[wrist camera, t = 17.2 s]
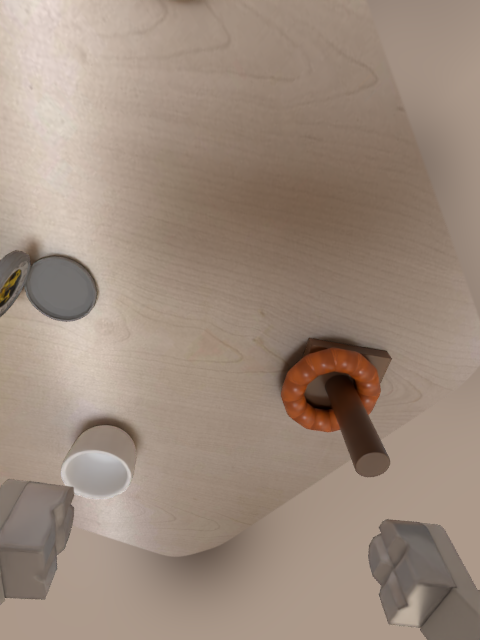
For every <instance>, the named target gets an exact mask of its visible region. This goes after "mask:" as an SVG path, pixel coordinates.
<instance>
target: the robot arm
mask: <svg viewBox="0 0 480 640" xmlns="http://www.w3.org/2000/svg"><path fill="white" fill-rule="evenodd" d="M73 497H74V487H71V486H63V485H55V484H47V483H39V482H31V481H24V480H15V479H8V480H6V481H5V482H4V483H3V484H2V485H1V487H0V605H1V604H2V603H3V602H4V601H5V598H21V599H45V598H46V595H47V593H48V590H49V587H50V585H51V583H52V580H53V577H54V575H55V572H56V570H57V555H58V554H59V553H61V552H62V551H63V550H64V549H65V546H66V543H67V541H68V538H69V535H70V531H71V528H72V524H73V518H74V507H73V506H72V505H71V502H72V500H73ZM379 529H380V531H381V534H379V535H377V536H375V537H373V539H372V541H371V543H370V545H369V555H368V557H369V564H370V568H371V572H372V575H373V577H374V578H375V579H376V580H377V581H378V583H379V584H380V585H381V589H380V593H379V597H380V600H381V603H382V606H383V609H384V611H385V615H386V618H387V621H388V624H390V625H399V626H409V627H418V628H421V629H420V630H421V632H422V633H423V635H424V636H425V637H426V638H427V640H480V590H477V588H476V586H475V584H474V583H473V581H472V579H471V577H470V575H469V573H468V572H467V570H466V568H465V566H464V564H463V563H462V561H461V559H460V557H459V555H458V553H457V552H456V549H455V548H454V546H453V544H452V543H451V540H450V538H449V537H448V535H447V533H446V531H445V530H444V528H442V527H441V526H440V525H437V524H427V523H420V522H412V521H400V520H388V519H387V520H384V521H383V522H382V524H381V525H380V527H379Z"/></svg>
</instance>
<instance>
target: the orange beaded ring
mask: <svg viewBox="0 0 480 640" xmlns="http://www.w3.org/2000/svg"><path fill="white" fill-rule="evenodd" d="M334 371H335V372H341V373H347V374H349V375H350V376H351V377H352V378H353V379H355V382H356V387H357V388H356V391H357V393H358V395H359V397H360V399H361V401H362V403H363V405H364V407H365V409H366V411H367V413H368V414H370V413H371V411H372V410H373V408H374V406H375V404H376V401H377V399H378V397H379V395H380V392H381V388H380V382H379V377H378V372H377V369H376V368H375V366H374V365H372V364H371V363H370V362H369V361H368V360H367V359H366V358H364V357H363V356H362V355H361V354H360V353H358V352H356V351H350V350H345V349H339V348H328V349H324V350H321V351H317V352H314V353H310V354H307V355H306V356H304V357H303V358H302V359H301V360H300V361H299V362H298V363H296V364H295V365H294V366H293V367H292V368H291V369H290V370H289V371H288V372H287V375H286V378H285V381H284V384H283V387H282V390H281V397H282V400H283V403H284V406H285V409H286V412H287V414H288V415H289V417H291V418H292V419H293V420H295V421H296V422H297V423H299V424H300V425H302V426H303V427H304V428H306V429H310V430H317V431H324V432H333V431H337V430H340V427H339V424H338V422H337V419H336V416H335V414H334V411H333V408H332V409H329V410H325V409H318V408H314V407H312V406H311V405H310V404H308V403H307V402H306V399H305V396H304V393H305V391H306V388H307V385H308V384H309V383H310V382H312V381H313V380H314V379H315V378H316V377H318V376H319V375H323V374H326V373H330V372H334Z"/></svg>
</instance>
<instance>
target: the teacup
mask: <svg viewBox="0 0 480 640" xmlns="http://www.w3.org/2000/svg"><path fill="white" fill-rule="evenodd" d="M135 464H136V449H135V445H134V442H133V440H132V439H131V437H130V436H129V435H128V434H127V433H126V432H125V431H123V430H122V429H120V428H118V427H115V426H110V425H100V426H96V427H93V428H90V429H88V430H86V431H85V432H83V433H82V434H81V435H80V436H79V438H78V439H77V440H76V441H75V443H74V444H73V446H72V447H71V449H70V450H69V452H68V454H67V455H66V457H65V459H64V461H63V463H62V467H61V477H62V480H63V482H64V484H65V485H66V486H71V487H74V494H75V495H80V496H82V497H86V498H90V499H108V498H112V497H115V496H117V495H119V494H121V493H123V492H124V491H125V490H126V489H127V488H128V486H129V485H130V483H131V481H132V478H133V475H134V469H135Z"/></svg>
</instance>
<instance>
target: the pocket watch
mask: <svg viewBox="0 0 480 640" xmlns="http://www.w3.org/2000/svg"><path fill="white" fill-rule="evenodd" d="M23 287H25V291H26V295H27V297H28V299H29V301H30V302H31V303H32V305H33V306H34V307H35V308H36V309H37V310H39V311H40V312H41V313H42V314H44V315H46V316H48V317H50V318H52V319H55V320H58V321H66V322H67V321H75V320H78V319H81V318H83V317H85V316H86V315H87V314H88V313H89V312H90V311H91V310H92V308H93V307H94V305H95V302H96V298H97V289H96V286H95V283H94V280H93V278H92V277H91V275H90V274H89V272H88V271H87V270H86V269H85V268H84V267H82V266H81V265H80V264H79V263H77V262H75V261H73V260H71V259H68V258H65V257H59V256H49V257H46V258H43V259H40V260H38V261H37V262H35V263H34V264H33V265H32V266H31V263H30V257H29V255H28V254H26V253H24V252H22V251H16V250H15V251H13V252H11V253H9V254H7V255H6V256H5V257H4V258H3V259H2V260H1V261H0V317H1V316H2V315H3V314H4V313H5V312H6V311H7V310H8V309H9V308H10V307H11V306H12V304H13V303H14V301H15V300H16V299H17V297H18V296H19V294H20V292H21V290H22V289H23Z"/></svg>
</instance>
